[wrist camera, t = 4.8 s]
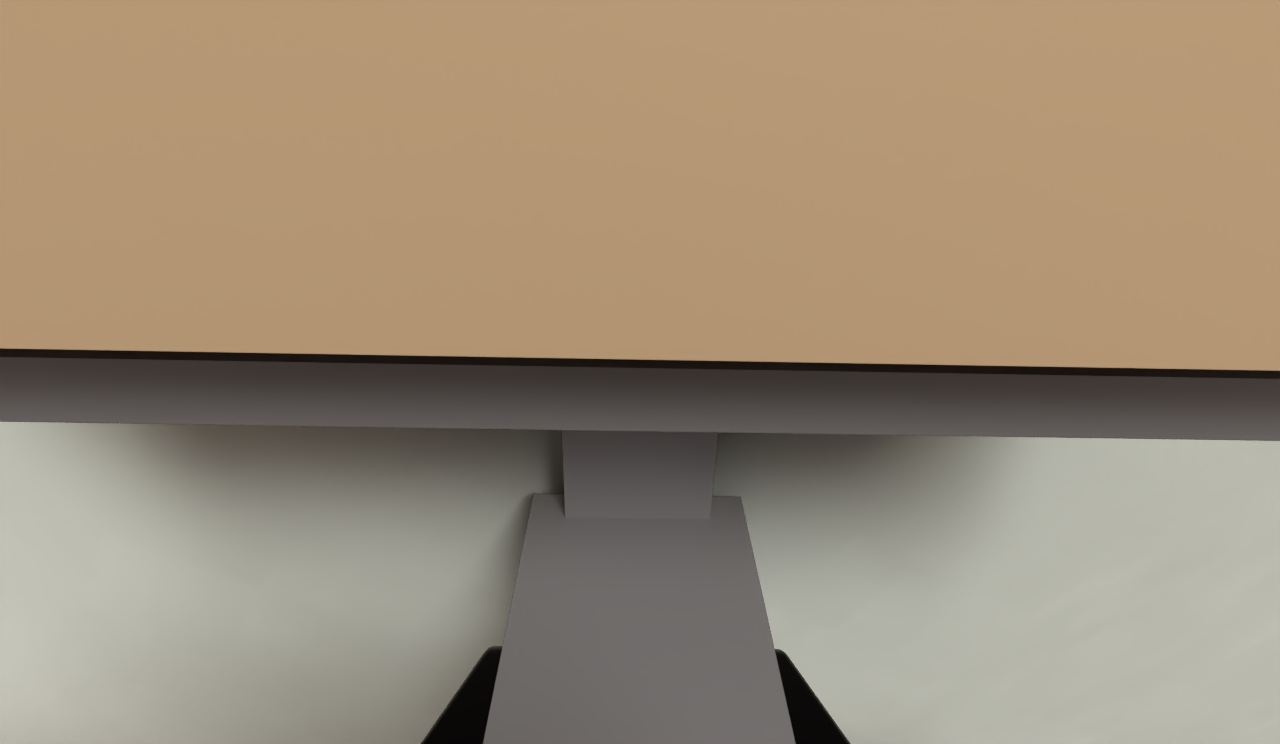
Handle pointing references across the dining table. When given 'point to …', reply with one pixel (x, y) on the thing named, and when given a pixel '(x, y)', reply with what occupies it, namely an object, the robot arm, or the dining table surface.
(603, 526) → the inner tray
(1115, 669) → the dining table surface
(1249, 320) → the wooden drawer box
